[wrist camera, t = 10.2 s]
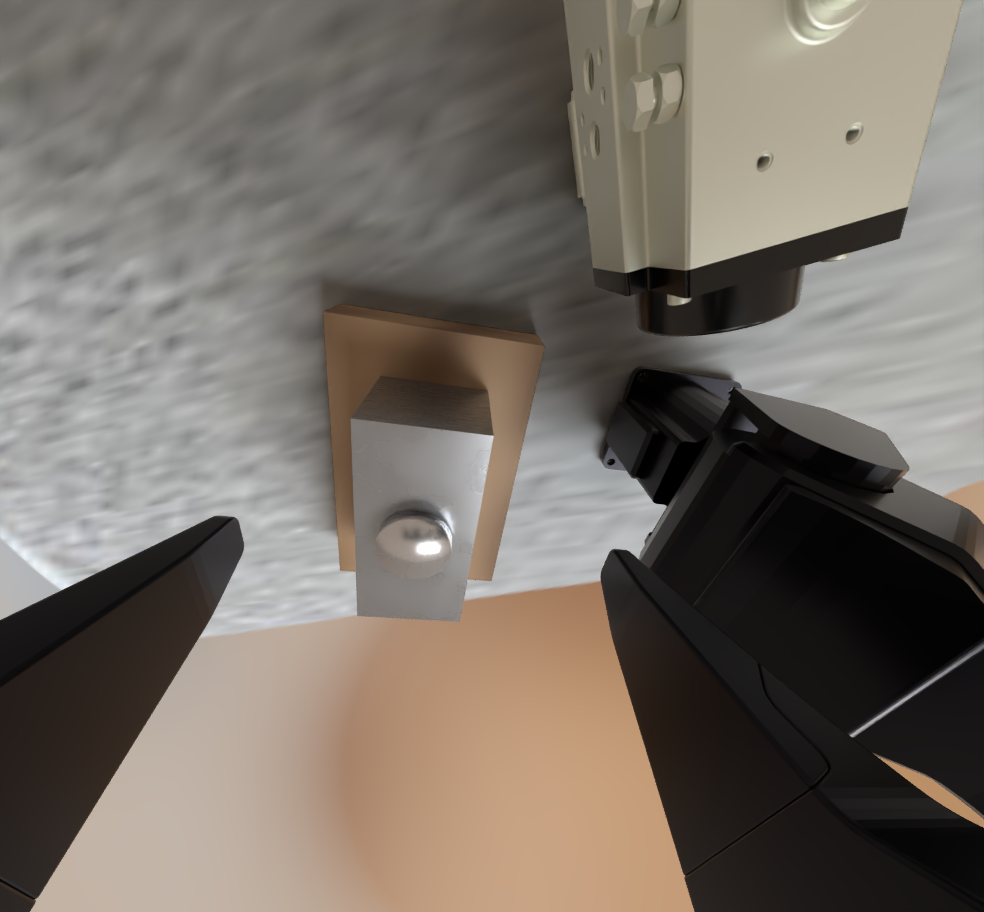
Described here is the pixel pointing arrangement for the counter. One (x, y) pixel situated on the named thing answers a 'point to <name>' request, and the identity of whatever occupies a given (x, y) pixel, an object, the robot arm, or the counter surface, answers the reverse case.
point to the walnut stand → (437, 359)
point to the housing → (417, 495)
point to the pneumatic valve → (745, 144)
